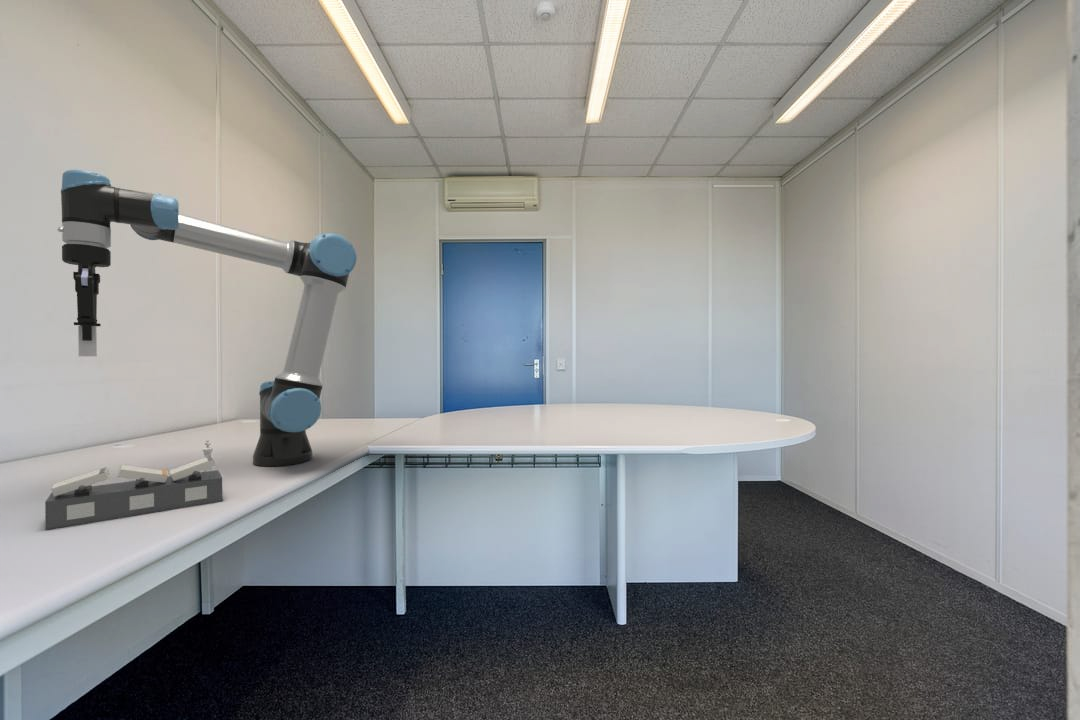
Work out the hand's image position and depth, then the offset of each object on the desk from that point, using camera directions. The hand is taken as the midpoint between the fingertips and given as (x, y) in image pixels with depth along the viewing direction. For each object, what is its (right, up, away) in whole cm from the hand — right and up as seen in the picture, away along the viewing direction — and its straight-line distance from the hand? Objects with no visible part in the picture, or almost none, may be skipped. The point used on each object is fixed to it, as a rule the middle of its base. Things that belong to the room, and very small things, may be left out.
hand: (87, 356), depth 101 cm
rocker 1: (+11, -24, -12) cm, 29 cm away
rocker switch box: (+17, -31, -7) cm, 36 cm away
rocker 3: (+24, -24, -1) cm, 34 cm away
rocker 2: (+18, -24, -7) cm, 31 cm away
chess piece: (+16, -31, +13) cm, 37 cm away
